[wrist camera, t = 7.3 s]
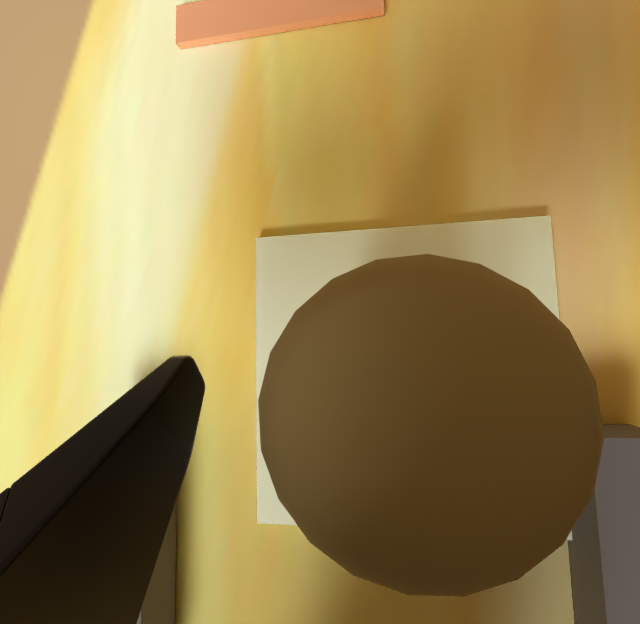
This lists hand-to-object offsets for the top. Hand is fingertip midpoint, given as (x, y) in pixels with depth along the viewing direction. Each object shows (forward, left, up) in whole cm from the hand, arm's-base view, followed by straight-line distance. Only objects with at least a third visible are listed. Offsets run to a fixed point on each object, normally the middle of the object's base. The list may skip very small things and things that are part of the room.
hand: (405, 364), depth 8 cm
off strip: (+16, +5, -8) cm, 19 cm away
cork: (-1, 0, -8) cm, 8 cm away
